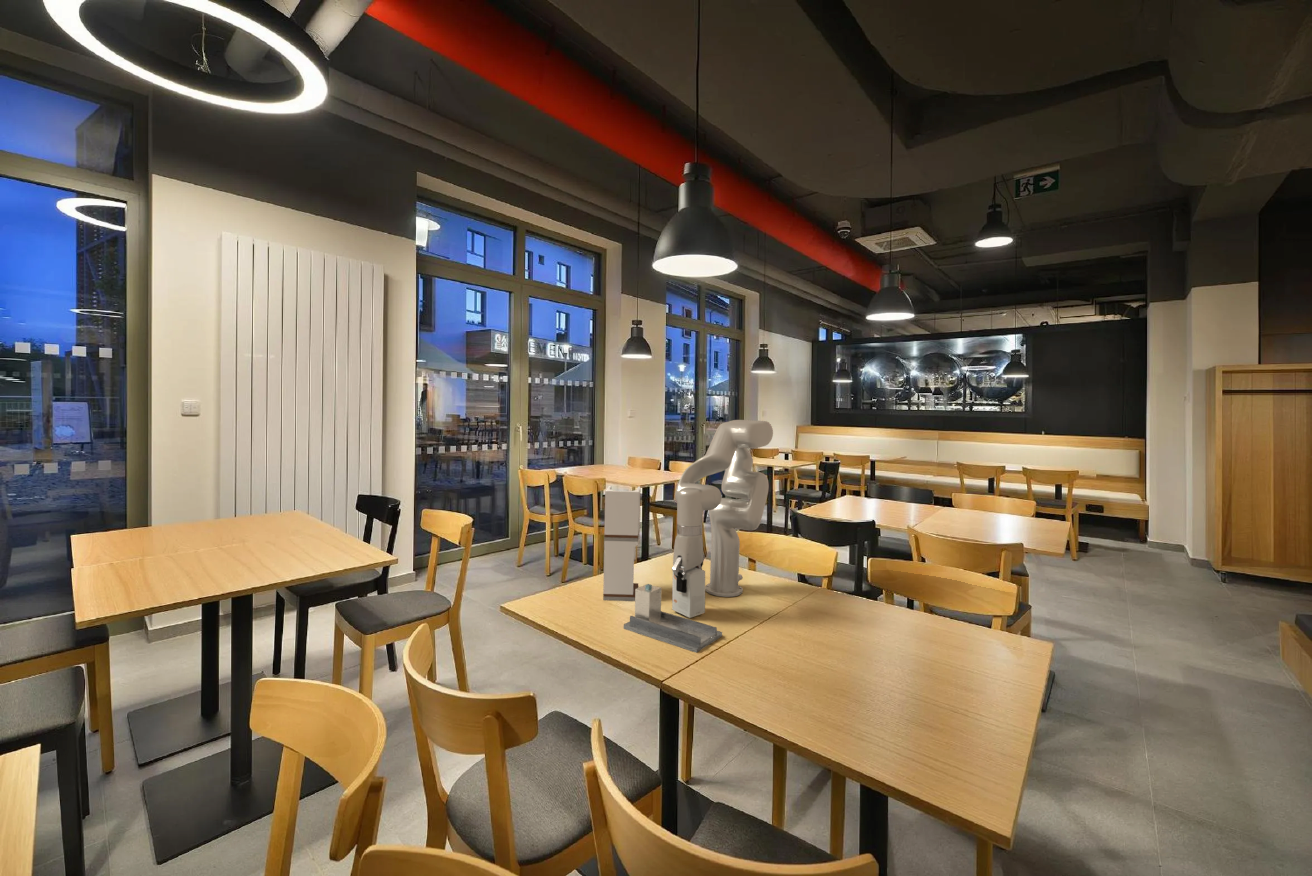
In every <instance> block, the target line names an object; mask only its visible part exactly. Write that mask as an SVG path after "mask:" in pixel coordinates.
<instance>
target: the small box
mask: <svg viewBox="0 0 1312 876" xmlns="http://www.w3.org/2000/svg"><path fill="white" fill-rule="evenodd" d="M681 568H684V567H683V566H681ZM680 572H681V573H682V575H683V571H680ZM676 579H677V578H675V575H674V572H673V571H672V592H671V593H672V602H671V603H672V605H671V606H672V608H671V610H672V611H674V612H675V613H676V612H677V613H679V614H680V615H683V616H685V617H686V618H688V619H691V618H693V617H694V618H695V617H696V616H700V615H702V614H705V613H706V590H705V586H706V570H703V569H702V570H701V569H698V568H696V567H694V568H692V569H690V570H687V574H686V577H685V579H687V583H686V593H682V592H679V591H677V590H676Z"/></svg>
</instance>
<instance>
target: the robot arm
mask: <svg viewBox="0 0 1312 876" xmlns="http://www.w3.org/2000/svg"><path fill="white" fill-rule="evenodd" d="M773 436H774V429H773V426H772V424H771V423H770V422H769V421H767V420H753V419H752V420H751V419H750V420H749V419H748V420H747V419H734V420H729V421H726V422H722V423H720V424H719V425H718V426H717V429H716V431H715V433H714V435H713V438H712V440H711V441H710V444H709V446H708V448H707V451H706V453H705V455H703V456H702V457H700V458H698V459H697V460H695V461H694V462H693V463H691V464H690V465H689V466H688V467H687V468H686V469H685V470H684V471H683V472H682V474H681V476H680V479H679V480H678V482H677V485H676V487H675V492H674V493H675V494H674V497H675V498H674V499H675V501H676V503H677V505H676V508H677V510H676V511H677V512H676V513H677V514H676V535H675V540H674V546H673V555H672V556H673V557H672V565H673V566H672V568H671V571H672V573H673V572H674V575H675V578H677V579H676V590H677V591H679V592H682V593H686V583H687V579H685V577H686V574H687V570H690V569H692V568H694V567H696V568H698V569H701V570H703V565H704V560H705V558H706V556H705V554H704V545H703V544H704V542H703V517H704V516H703V511H708V514H709V522H710V531H711V537H710V539H711V542H710V544H711V545H710V568H709V569H710V571H709V572H710V573H709V576H710V577H709V583H707V584H705V593H706V592H707V593H708V594H710V595H712V596H717V597H722V598H731V597H737V596H740V595H741V594H743V587H742V586H741V585H739V581H741V580H743V574H741V573H739V571H740V570H739V569H740V545H741V543H740V537H739V535H738V532H737V531H736V529H737V530H744V531H754V530H757V529H758V528H759V526H760V525H761V522H762V519H763V514H764V510H765V507H766V502H767V498H768V495H769V480H768V479H769V478H768V477H767V475H766V474H764V472H760V471H752V468H753V465H754V459H753V456H752V454H751V452H750V451H749V450H748V449H759V448H762V447H766V446H768V445H769V444H770V443H771V441H772V439H773ZM723 471H724V475H723V476H722V482H721V490H720V489H719V488H718V487H716V486H715V485H711V484H710V485H709V484H702V483H697V482H698V481H700V480H701V479H703V478H705V477H709V476H711V475H714V474H715V475H716V474H718V473H721V472H723ZM722 493H723V495H725V496H727V497H731V498H727V497H722ZM744 499H745V500H744ZM681 566H683V567H684V568H681ZM680 571H683V575H682V573H681V572H680Z"/></svg>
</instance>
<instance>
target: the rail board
mask: <svg viewBox="0 0 1312 876" xmlns="http://www.w3.org/2000/svg"><path fill="white" fill-rule="evenodd" d="M623 629H624V630H626V631H630V632H633V633H635V634H639V635H642V636H645V637H648V638H651V639H654V640H657V641H660V642H663V643H667V644H669V645H672V646H675V647H679V648H681V649H684V650H686V651H690V652H693V653H695V654H697V653H698V652H701V651H702V650H703V649H705V648H706V647H708V646H709V645H711V644H713V643H714V642H716V641H717V640H719V639H720V638H721V637H723V631H719V630H718V627H717V626H713V625H710V624H706V623H703V622H700V621H696V620H693V619H691V618H687V617H682V616H679V615H675V614H672V613H670V612H665V611H662V587H661V586H655V585H653V584H650V583H647V584H644V585H642V586H640V587H639V586H638V588H637V589H635V601H634V615H630V616H629V621H628V622H626V623H624V624H623Z"/></svg>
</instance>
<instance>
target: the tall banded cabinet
mask: <svg viewBox="0 0 1312 876" xmlns="http://www.w3.org/2000/svg"><path fill="white" fill-rule="evenodd" d="M640 517H641V486H637V488H636V489H635V490H613V489H612V485H608V486H607V487H606V489H605V491H604V533H603V534H604V539H603V540H604V541H603V543H604V544H603V551H604V552H603V589H602V590H603V592H602V593H603V594H602V596H603V598H602V599H603V601H617V602H618V601H619V602H620V601H622V602H635V589H637V588H639V583H637V582H635V583H634V579H635V578H634V575H635V574H634V572H635V571H634V570H635V569H634V567H635V562H636V557H637V556H636V550H637V549H636V547H638V546H639V542H640V528H641V527H640V526H641V525H640V523H641V519H640Z"/></svg>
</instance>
